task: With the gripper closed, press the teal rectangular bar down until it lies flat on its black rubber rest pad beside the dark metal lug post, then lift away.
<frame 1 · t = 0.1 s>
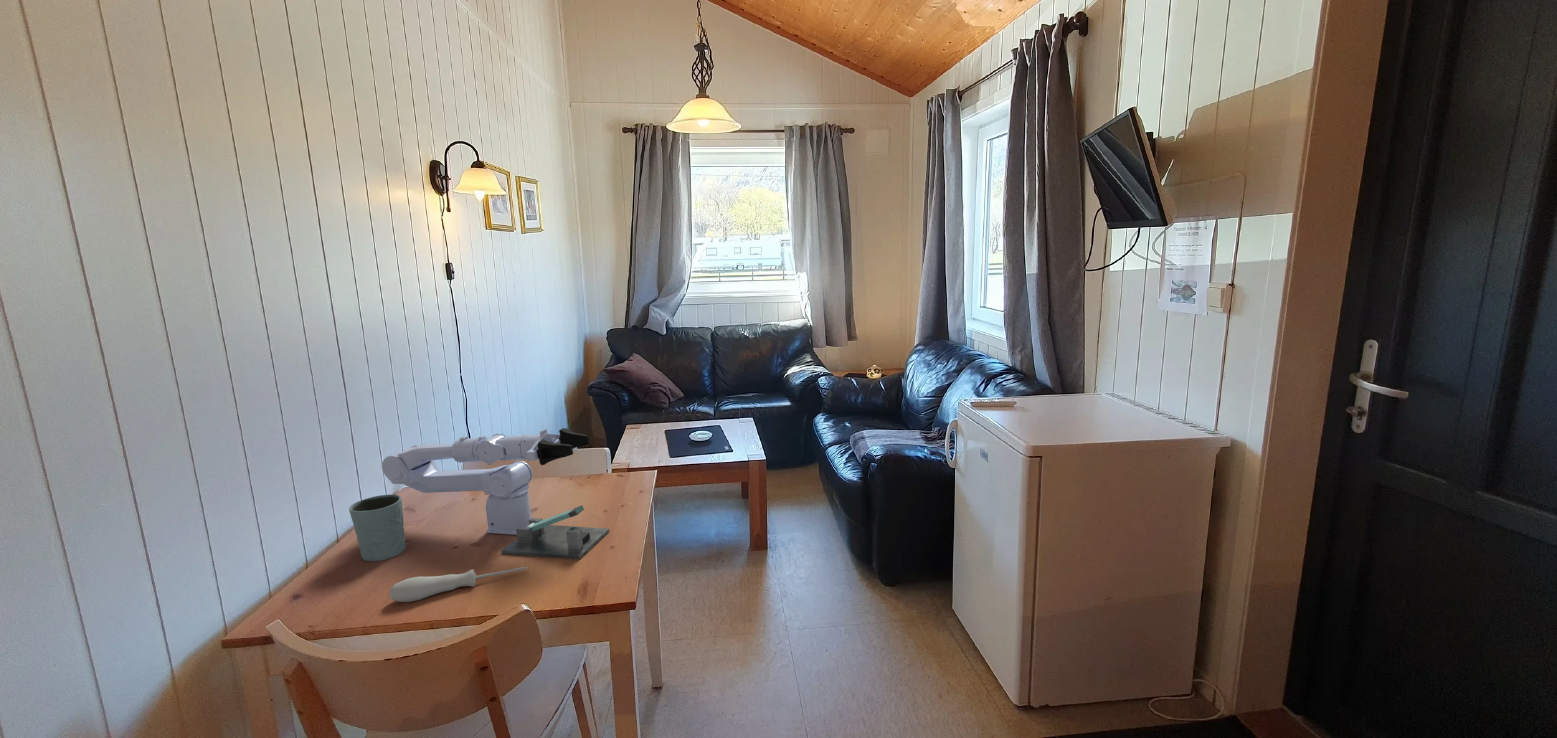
hand: (580, 444, 148), 22 cm above the table, fingers open, 7 cm apart
screwdriver: (463, 588, 129), on the table
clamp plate: (557, 542, 147), on the table
teal rectangular bar: (553, 519, 146), point 5 cm above the table, hinge at 22.0°
green cup: (383, 553, 145), on the table
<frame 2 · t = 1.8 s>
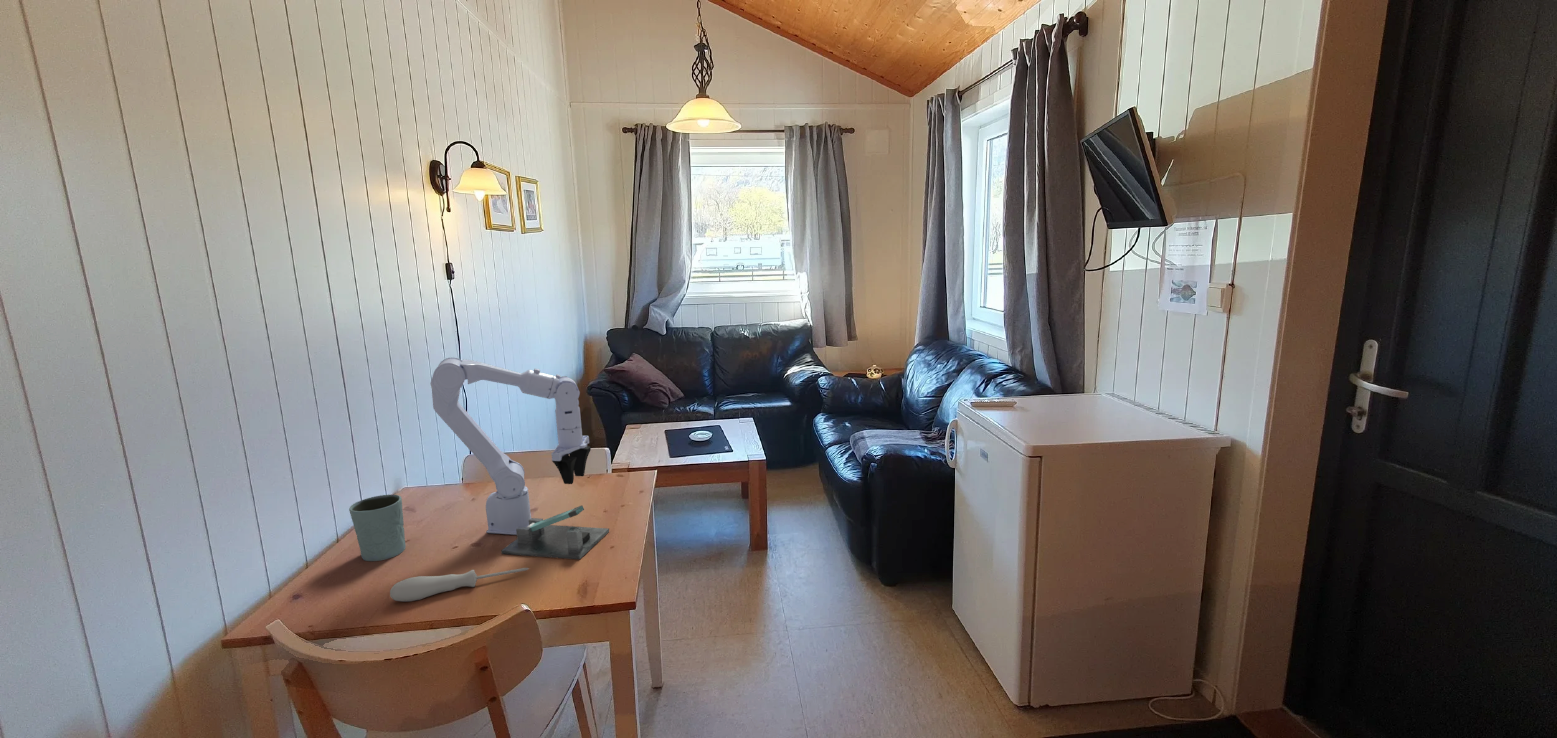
hand: (574, 479, 159), 10 cm above the table, fingers open, 5 cm apart
nothing on the table moved.
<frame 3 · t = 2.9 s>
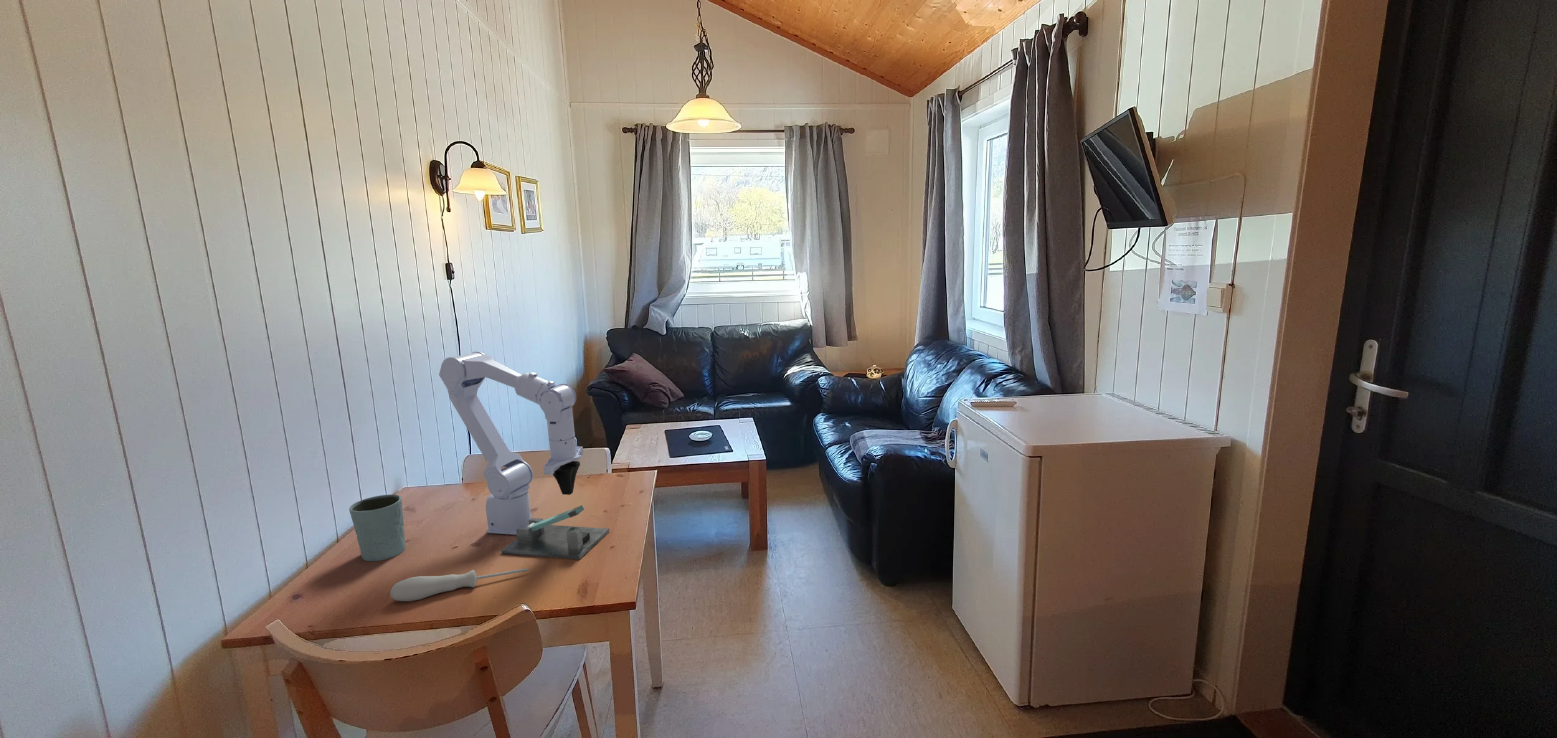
hand: (567, 493, 150), 10 cm above the table, fingers closed
nothing on the table moved.
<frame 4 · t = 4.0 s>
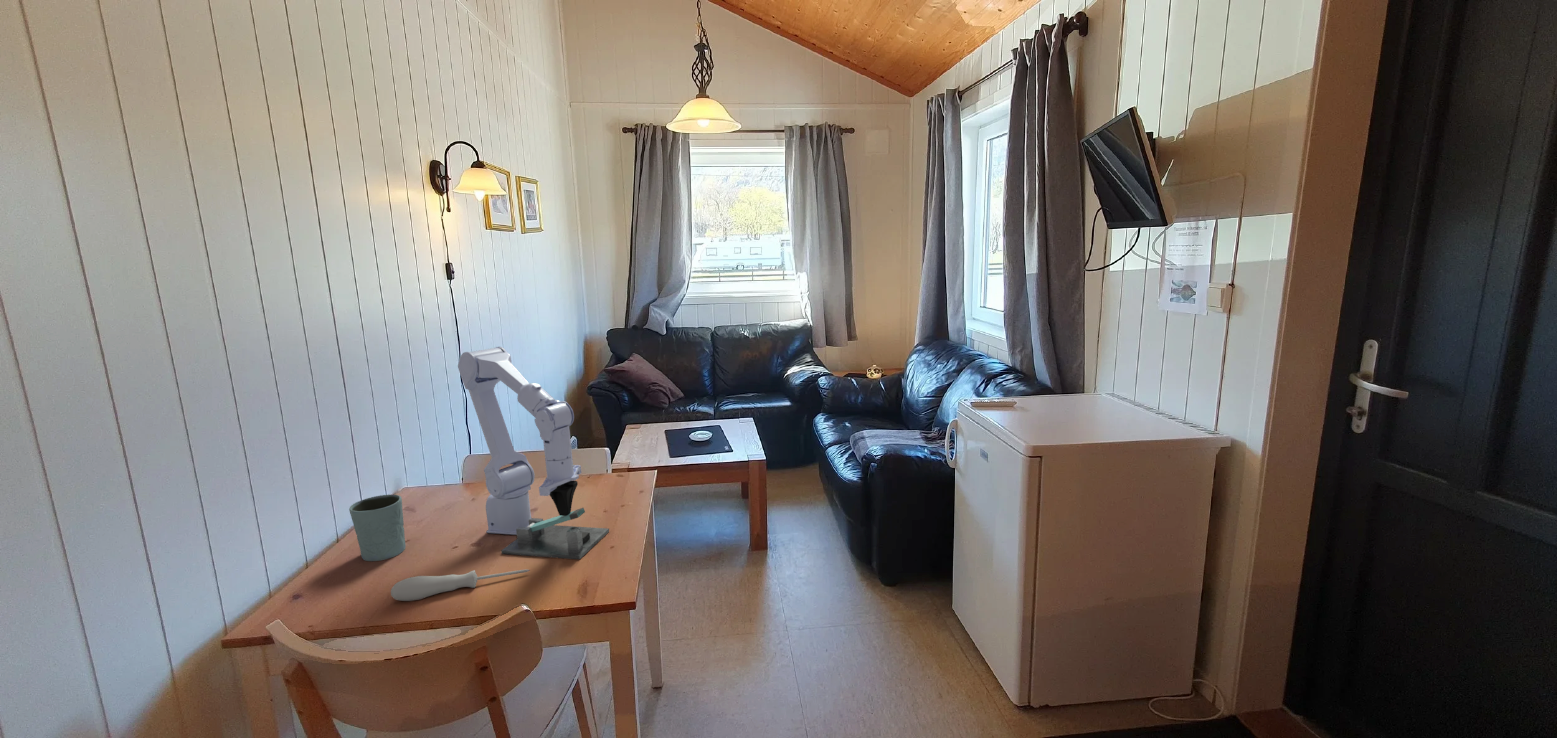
hand: (564, 514, 145), 7 cm above the table, fingers closed, pressing on teal rectangular bar
teal rectangular bar: (553, 521, 146), point 5 cm above the table, hinge at 19.4°, touching gripper
everything else where it was.
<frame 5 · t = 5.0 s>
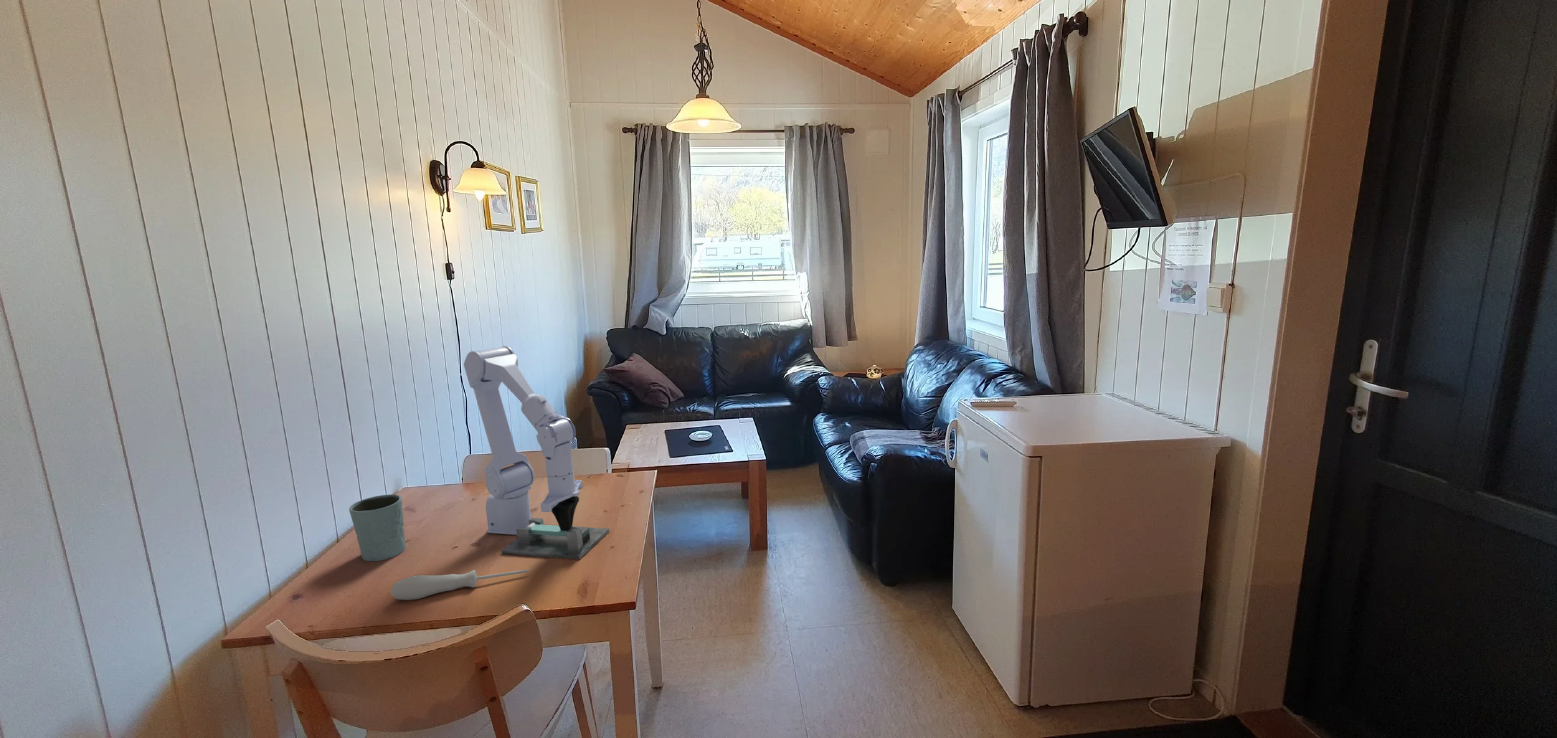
hand: (566, 529, 146), 3 cm above the table, fingers closed, pressing on teal rectangular bar
teal rectangular bar: (556, 530, 147), point 3 cm above the table, hinge at -0.8°, touching gripper
everything else where it was.
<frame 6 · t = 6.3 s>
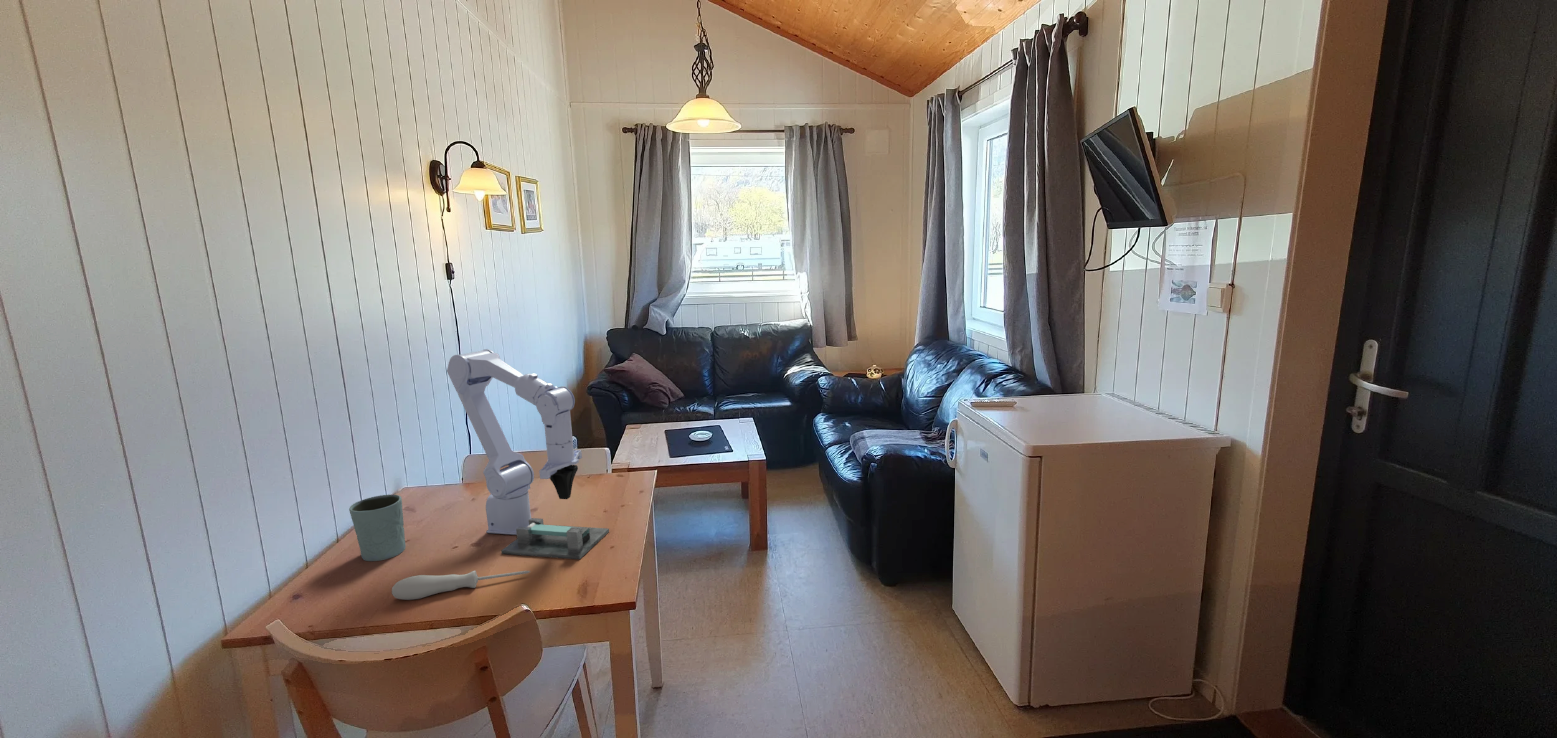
hand: (564, 498, 148), 10 cm above the table, fingers closed
teal rectangular bar: (556, 530, 147), point 3 cm above the table, hinge at -0.9°
everything else where it was.
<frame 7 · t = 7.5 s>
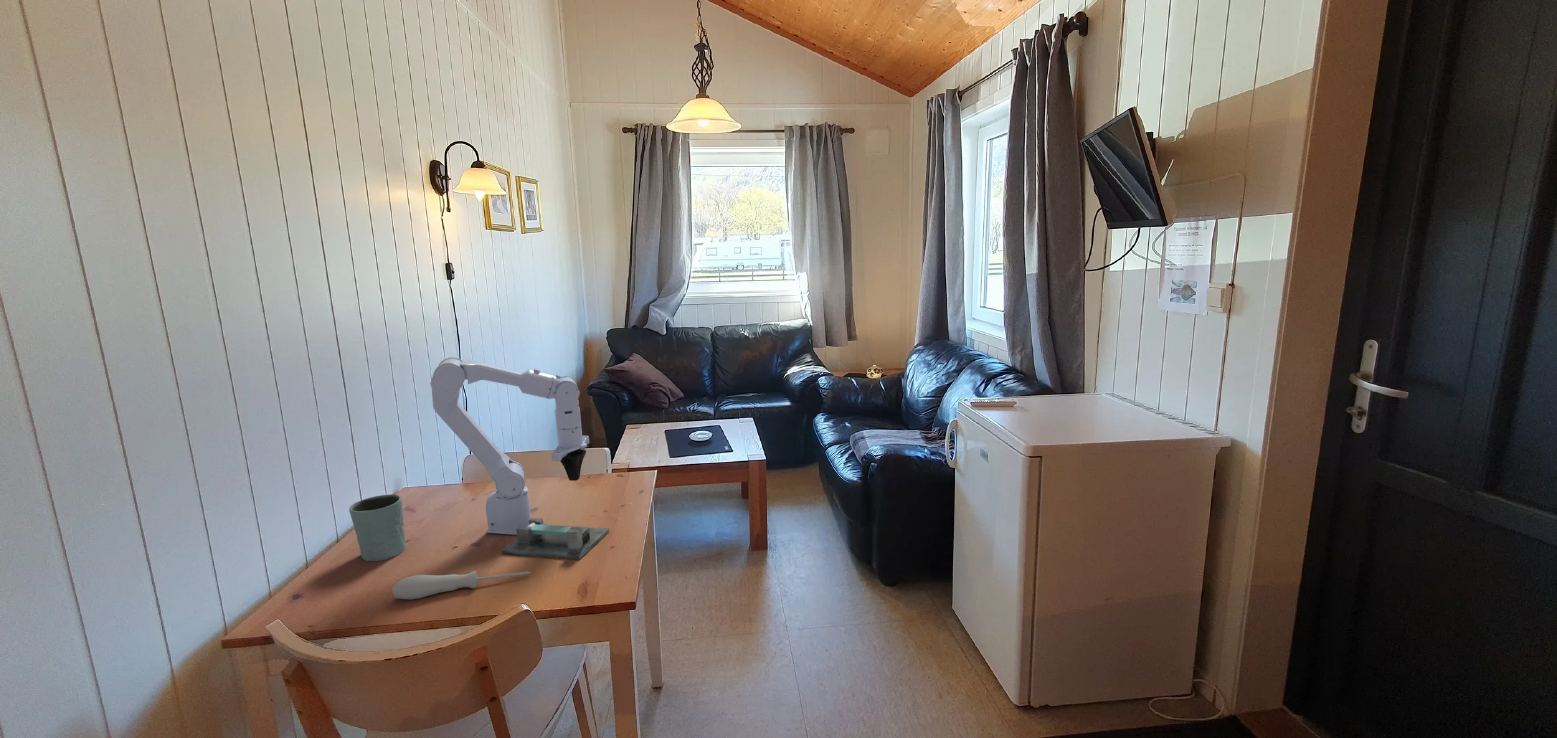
hand: (574, 479, 159), 10 cm above the table, fingers closed
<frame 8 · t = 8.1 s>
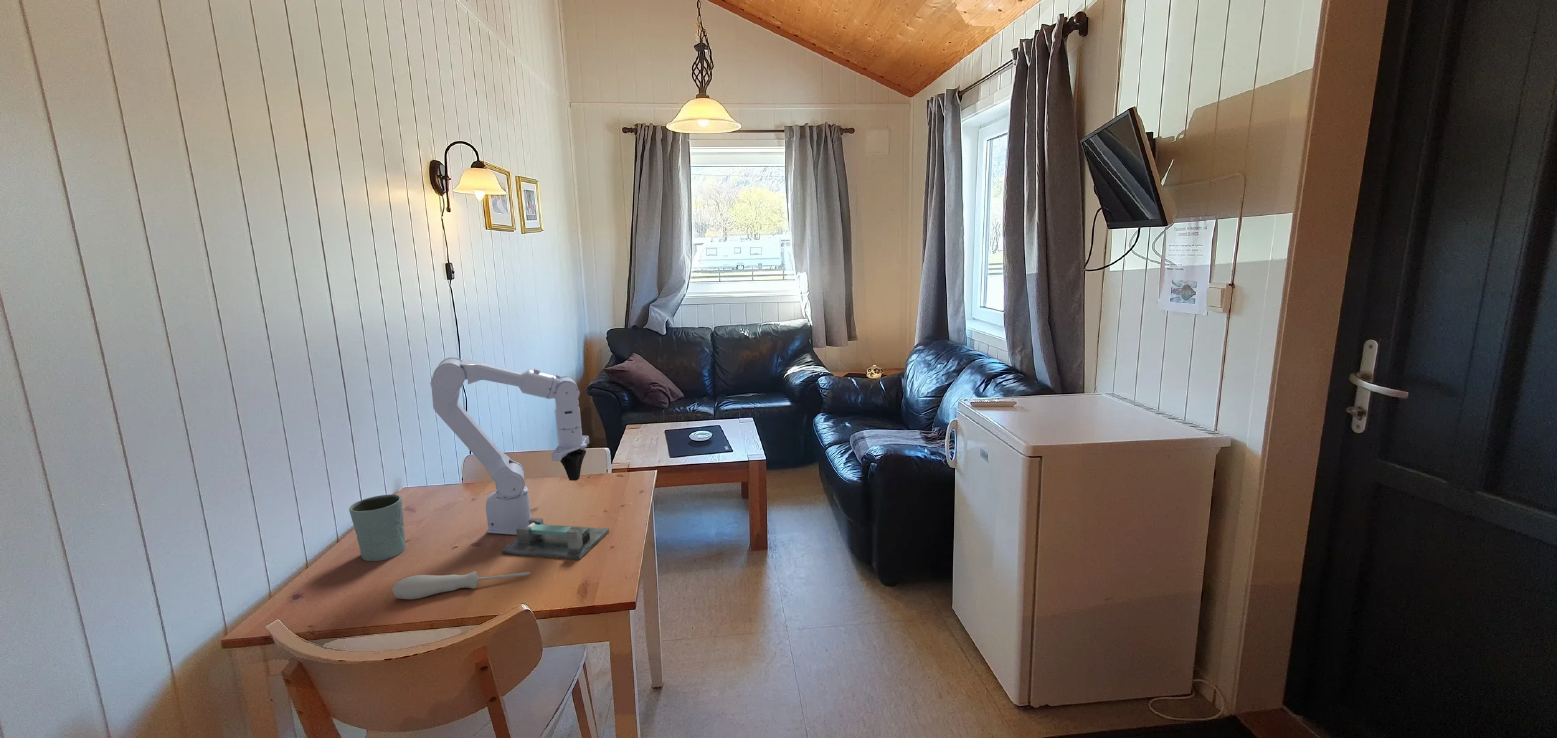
hand: (574, 479, 159), 10 cm above the table, fingers closed
nothing on the table moved.
at the end: teal rectangular bar at -1° (first picture: +22°); the gripper is holding nothing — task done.
